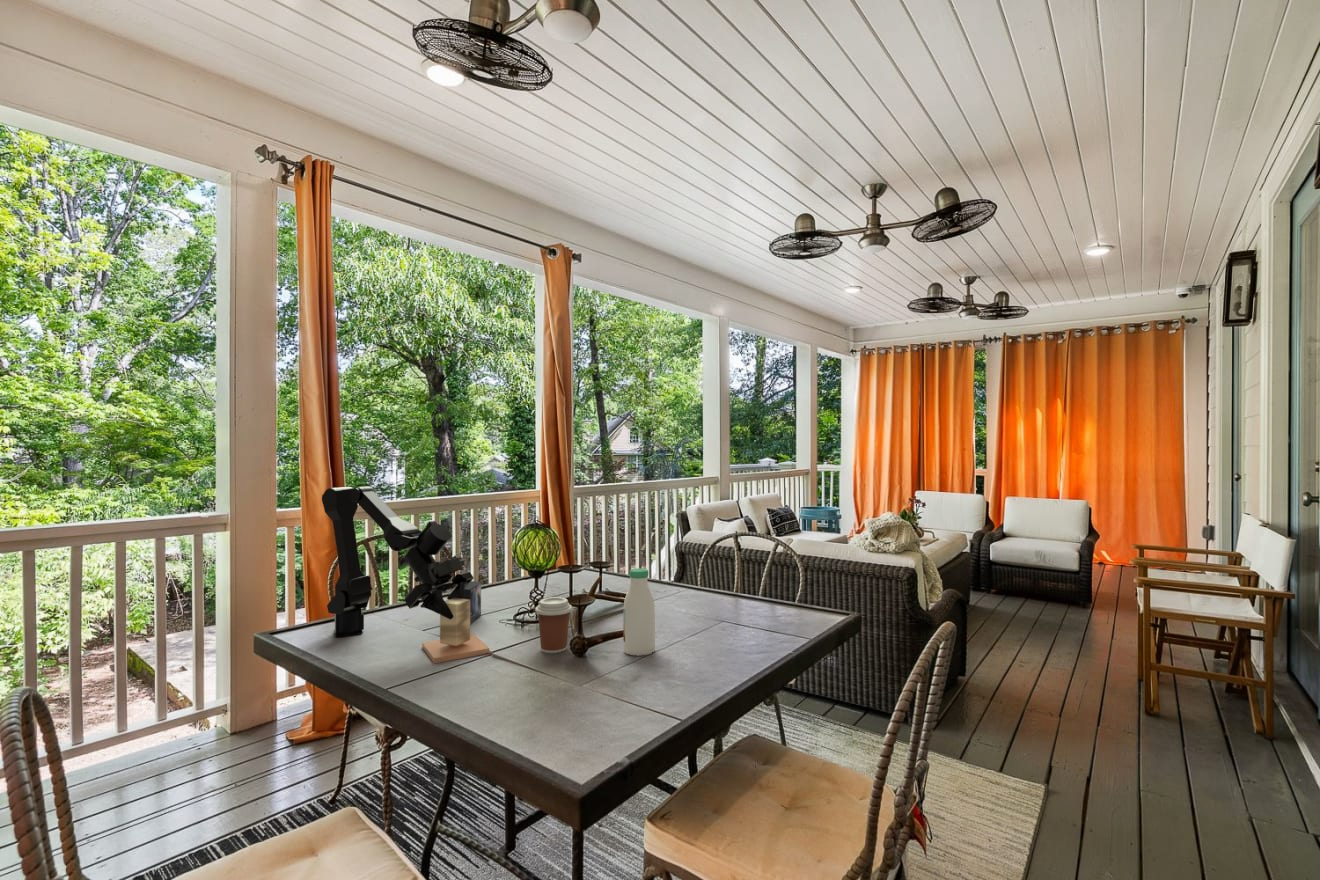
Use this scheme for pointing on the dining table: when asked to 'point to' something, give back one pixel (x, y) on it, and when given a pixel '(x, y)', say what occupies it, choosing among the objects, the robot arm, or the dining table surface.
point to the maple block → (456, 623)
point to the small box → (474, 599)
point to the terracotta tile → (454, 649)
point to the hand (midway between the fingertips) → (459, 615)
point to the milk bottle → (639, 616)
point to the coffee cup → (553, 623)
